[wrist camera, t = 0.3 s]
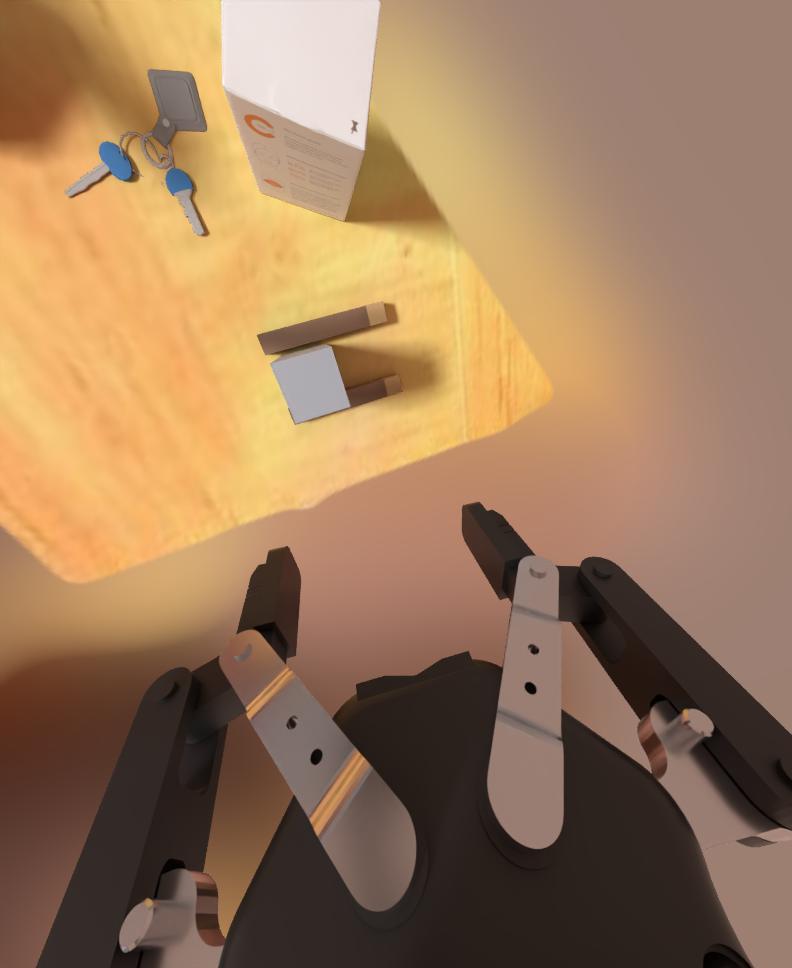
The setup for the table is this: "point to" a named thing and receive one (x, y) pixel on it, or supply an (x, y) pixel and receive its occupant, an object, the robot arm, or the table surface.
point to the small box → (301, 94)
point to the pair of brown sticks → (330, 328)
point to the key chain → (158, 139)
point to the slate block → (310, 382)
